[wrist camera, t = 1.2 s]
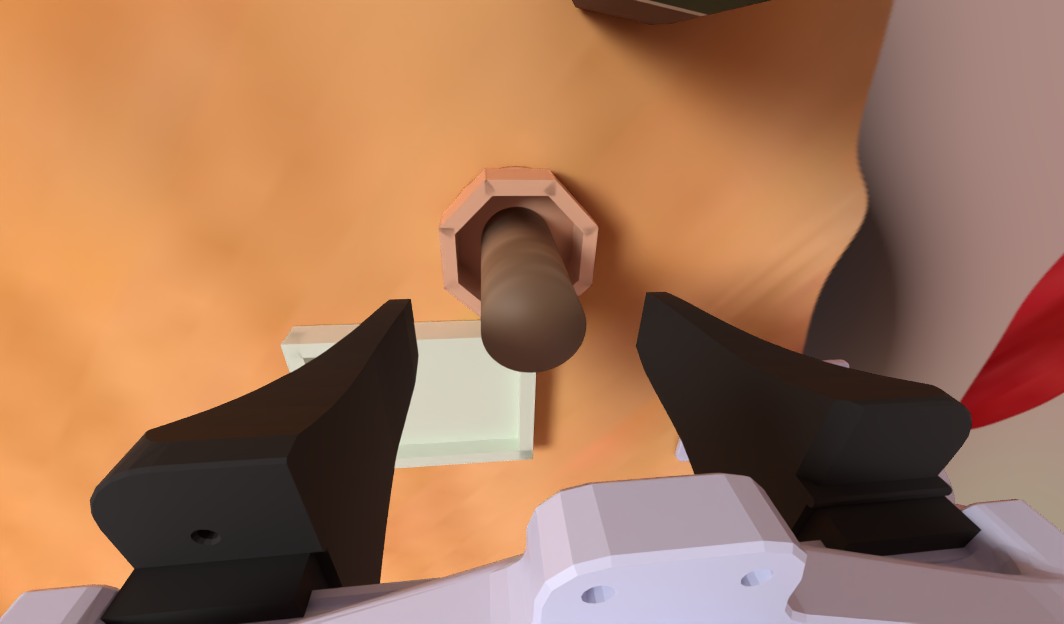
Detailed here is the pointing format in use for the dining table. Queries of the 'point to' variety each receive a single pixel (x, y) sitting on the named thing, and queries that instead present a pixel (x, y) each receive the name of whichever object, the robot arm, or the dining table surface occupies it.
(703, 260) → the dining table surface
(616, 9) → the beer bottle
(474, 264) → the holder
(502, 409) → the tray
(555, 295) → the peg
